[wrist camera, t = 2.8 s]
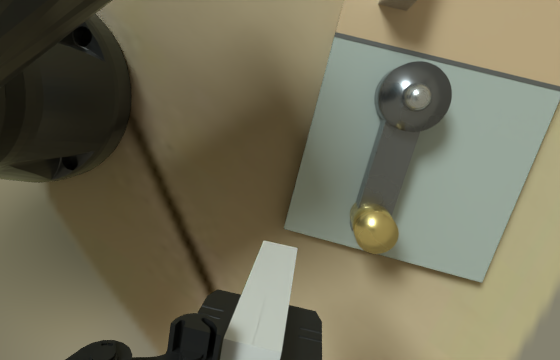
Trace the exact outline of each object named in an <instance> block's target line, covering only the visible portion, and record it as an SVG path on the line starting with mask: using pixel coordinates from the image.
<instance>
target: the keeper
mask: <svg viewBox="0 0 560 360" xmlns="http://www.w3.org/2000/svg"><path fill="white" fill-rule="evenodd" d="M416 1H417V0H379V2H378V4H379V5H383V6H388V7H392V8H396V9H400V10H405V11H407V10H408V9H409V8H410V7H411V6H412V5H413V4H414V3H415V2H416Z"/></svg>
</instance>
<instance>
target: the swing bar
mask: <svg viewBox="0 0 560 360" xmlns="http://www.w3.org/2000/svg"><path fill="white" fill-rule="evenodd" d="M451 99H452V89H451V84H450V81H449V79H448V77H447V76H446V74H445V73H444V72H443V71H442V70H441V69H440V68H439V67H437V66H436V65H434V64H431V63H428V62H423V61H415V62H410V63H407V64H404V65H401V66H399V67H397V68H395V69H393V70H391V71H389V72H388V73H387V74H386V75H384V77H383V78H382V79H381V80H380V82H379V83H378V85H377V88H376V90H375V95H374V104H375V108H376V111H377V113H378V115H379V117H380V118H381V122H380V125H379V129H378V132H377V135H376V138H375V141H374V145H373V148H372V151H371V154H370V158H369V161H368V164H367V167H366V170H365V174H364V177H363V180H362V183H361V187H360V190H359V193H358V196H357V199H356V202H355V203H354V204H353V206H352V207H351V210H350V222H349V223H350V227H351V231H354V235H355V238H356V241H357V243H358V245H359V246H360V247H361V248H362V249H363V250H364V251H366V252H368V253H372V254H381V253H385V252H387V251H389V250H390V249H392V248H393V247H394V245H395V244H396V242H397V240H398V236H399V231H398V227H397V225H396V223H395V221H394V220H393V218H392V214H393V211H394V208H395V205H396V202H397V199H398V196H399V193H400V190H401V187H402V184H403V181H404V178H405V175H406V172H407V170H408V167H409V164H410V161H411V158H412V155H413V152H414V149H415V146H416V143H417V140H418V137H419V134H420V131H424V130H427V129H429V128H431V127H433V126H435V125H436V124H437V123H438V122H440V121H441V120H442V119H443V117H444V116H445V115H446V113H447V111H448V109H449V107H450V104H451Z"/></svg>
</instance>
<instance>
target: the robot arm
mask: <svg viewBox="0 0 560 360" xmlns="http://www.w3.org/2000/svg"><path fill="white" fill-rule="evenodd" d="M111 1H112V0H0V179H6V180H16V181H26V182H51V181H57V180H62V179H65V178H68V177H72V176H75V175H78V174H81V173H84V172H86V171H89V170H91V169H92V168H94V167H96V166H97V165H99V164H100V163H101V162H103V161H104V160H105V159H106V158H107V157H108V156H109V155H110V154H111V153H112V152H113V150H114V149H115V148H116V146H117V145H118V143H119V142H120V140H121V138H122V136H123V134H124V131H125V129H126V126H127V122H128V118H129V114H130V106H131V86H130V79H129V73H128V69H127V65H126V62H125V59H124V57H123V54H122V52H121V50H120V47H119V45H118V43H117V42H116V40H115V38H114V36H113V35H112V33H111V32H110V30H109V29H108V28H107V26H106V25H105V24H104V23H103V22H102V20H101V19H100V18H99V17H98V16H97V15H96V14H95V13H97V12H98V11H99V10H100V9H102V8H103V7H104V6H106V5H107V4H108V3H109V2H111ZM297 249H298V248H296V247H291V246H287V245H282V244H278V243H273V242H269V241H263V243H262V246H261V248H260V251H259V253H258V255H257V258H256V260H255V263H254V265H253V268H252V270H251V273H250V275H249V277H248V280H247V282H246V285H245V287H244V290H243V292H242V295H239V294H235V293H231V292H226V291H222V290H216V291H214V292H213V293H211V294H210V295H208V296H207V298H206V299H205V301H204V303H203V305H202V307H201V308H200V310H199V311H198V314H197V313H193V314H185V315H183V316H180V317H178V318H176V319H175V320H174V321H173V322H172V323H171V327H170V334H169V342H168V349H167V352H166V354H164V355H160V356H157V357H136V358H132V353H131V350H130V348H129V347H128V346H127V345H125V344H124V343H122V342H118V341H115V340H103V341H98V342H94V343H91V344H89V345H87V346H85V347H83V348H81V349H80V350H79V351H77V352H76V353H74V354H73V355H71V356H70V357H69V358H67V359H66V360H322V321H321V320H320V318H319V316H318V315H317V313H316V311H312V310H307V309H303V308H299V307H295V306H290V305H289V301H290V294H291V288H292V281H293V275H294V268H295V262H296V255H297Z"/></svg>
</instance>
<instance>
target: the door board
mask: <svg viewBox="0 0 560 360" xmlns="http://www.w3.org/2000/svg"><path fill="white" fill-rule="evenodd" d="M378 2H379V0H344V2H343V6H342V10H341V13H340V17H339V21H338V25H337V29H336V32H335V36H334V40H333V44H332V48H331V51H330V55H329V59H328V63H327V67H326V70H325V74H324V78H323V82H322V85H321V89H320V93H319V97H318V101H317V104H316V108H315V112H314V116H313V120H312V123H311V127H310V131H309V135H308V139H307V142H306V146H305V150H304V154H303V157H302V161H301V165H300V169H299V173H298V176H297V180H296V184H295V188H294V192H293V195H292V199H291V203H290V207H289V210H288V214H287V218H286V222H285V226H284V229H286V230H290V231H294V232H297V233H301V234H305V235H308V236H312V237H316V238H320V239H323V240H327V241H331V242H334V243H338V244H342V245H345V246H349V247H353V248H356V249H360V250H363V249H362V248H361V247H360V246H359V245H358V243H357V241H356V238H355V235H354V231H351V227H350V223H349V222H350V210H351V207H352V206H353V204H354V203H355V202H356V199H357V196H358V193H359V190H360V187H361V183H362V180H363V177H364V174H365V170H366V167H367V164H368V161H369V158H370V154H371V151H372V148H373V145H374V141H375V138H376V135H377V132H378V129H379V125H380V122H381V118H380V117H379V115H378V113H377V111H376V108H375V104H374V95H375V90H376V88H377V85H378V83H379V82H380V80H381V79H382V78H383V77H384V75H386V74H387V73H388V72H389V71H391V70H393V69H395V68H397V67H399V66H401V65H404V64H407V63H410V62H415V61H423V62H428V63H431V64H434V65H436V66H437V67H439V68H440V69H441V70H442V71H443V72H444V73H445V74H446V76H447V77H448V79H449V81H450V84H451V89H452V99H451V104H450V107H449V109H448V111H447V113H446V115H445V116H444V117H443V119H442V120H441V121H440V122H438V123H437V124H436V125H435V126H433V127H431V128H429V129H427V130H424V131H420V134H419V137H418V140H417V143H416V146H415V149H414V152H413V155H412V158H411V161H410V164H409V167H408V170H407V172H406V175H405V178H404V181H403V184H402V187H401V190H400V193H399V196H398V199H397V202H396V205H395V208H394V211H393V214H392V218H393V220H394V221H395V223H396V225H397V227H398V231H399V236H398V240H397V242H396V244H395V245H394V247H393V248H392V249H390V250H389V251H387V252H385V253H381V254H378V255H382V256H386V257H389V258H393V259H397V260H401V261H404V262H408V263H412V264H415V265H419V266H423V267H426V268H430V269H434V270H437V271H441V272H445V273H448V274H452V275H456V276H459V277H463V278H467V279H470V280H474V281H478V282H482V281H483V279H484V276H485V274H486V272H487V269H488V267H489V265H490V262H491V260H492V258H493V255H494V253H495V251H496V248H497V246H498V244H499V241H500V239H501V237H502V234H503V232H504V230H505V227H506V225H507V222H508V220H509V218H510V215H511V213H512V211H513V208H514V206H515V204H516V201H517V199H518V197H519V194H520V192H521V190H522V187H523V185H524V183H525V180H526V178H527V176H528V173H529V171H530V168H531V166H532V164H533V161H534V159H535V157H536V154H537V152H538V150H539V147H540V145H541V143H542V140H543V138H544V136H545V133H546V131H547V129H548V126H549V124H550V122H551V119H552V117H553V114H554V112H555V110H556V107H557V105H558V103H559V100H560V0H417V1H416V2H415V3H414V4H413V5H412V6H411V7H410V8H409V9H408V10H407V11H405V10H400V9H396V8H392V7H388V6H383V5H379V4H378Z"/></svg>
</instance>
